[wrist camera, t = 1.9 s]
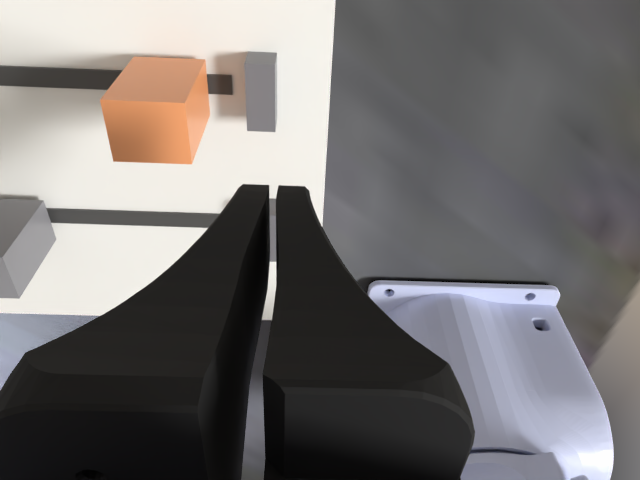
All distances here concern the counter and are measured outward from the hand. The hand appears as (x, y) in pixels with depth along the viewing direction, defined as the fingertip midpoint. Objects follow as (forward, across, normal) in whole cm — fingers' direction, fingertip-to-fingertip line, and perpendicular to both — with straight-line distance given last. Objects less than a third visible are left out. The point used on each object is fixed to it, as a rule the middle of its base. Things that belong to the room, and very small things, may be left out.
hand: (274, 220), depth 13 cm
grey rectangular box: (+8, +11, +6) cm, 15 cm away
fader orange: (+8, +4, 0) cm, 9 cm away
